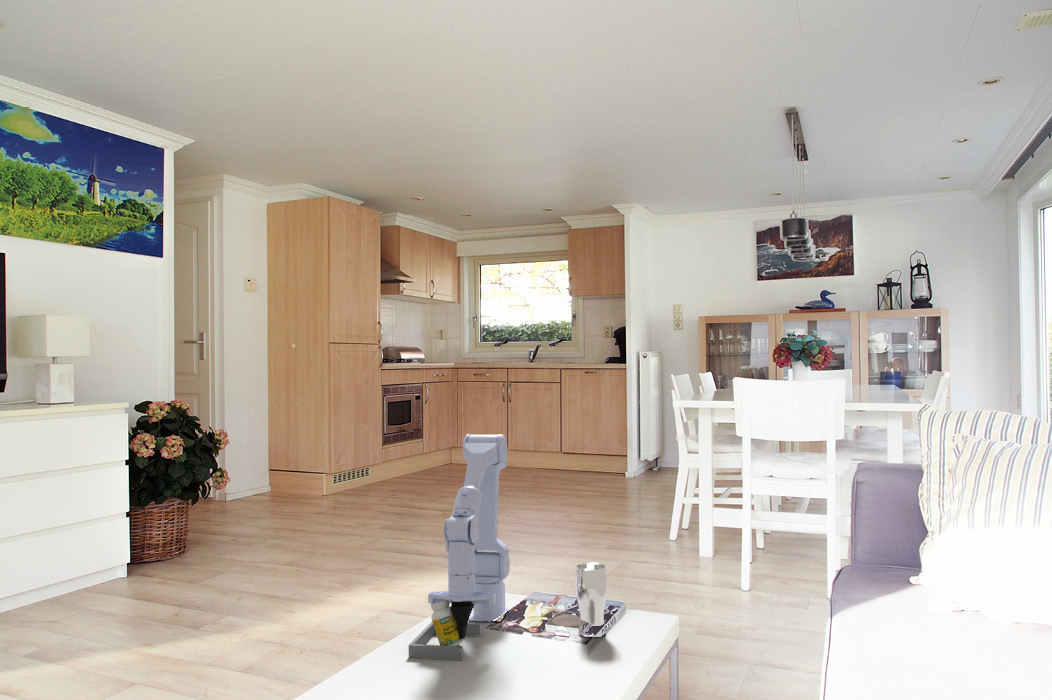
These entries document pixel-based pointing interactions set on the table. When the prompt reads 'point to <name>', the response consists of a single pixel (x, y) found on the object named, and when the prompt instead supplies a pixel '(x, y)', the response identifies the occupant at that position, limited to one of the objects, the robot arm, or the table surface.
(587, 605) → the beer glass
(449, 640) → the supplement bottle
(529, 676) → the table surface
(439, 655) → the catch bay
